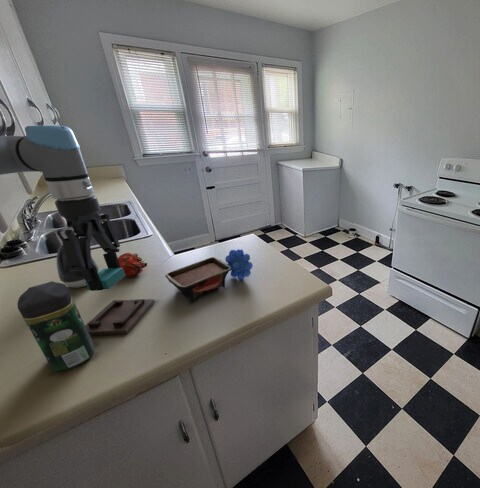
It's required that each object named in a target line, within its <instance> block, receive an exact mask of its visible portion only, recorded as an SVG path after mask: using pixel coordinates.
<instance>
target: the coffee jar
mask: <svg viewBox="0 0 480 488" xmlns="http://www.w3.org/2000/svg"><path fill="white" fill-rule="evenodd" d="M17 309H18V311H19V313H20V315H21V318H22V320H23V321H24V322H25V324H26V326H27V327H28V329H29V331H30V332H31V334H32V336H33V339H34V340H35V341H36V344H37V345H38V346H39V349H40V350H41V352H42V354H43V356H44V358H45V360H46V361H47V363H48V366H49V367H50V368H51V370H52V371H54V372H62V371H66V370H70V369H73V368H75V367H77V366H80V365H82V364H83V363H84V362H86V361H88V360H89V359H90V358H91V357H93V355H94V353H95V344H94V342H93V339H92V338H91V335H89V333H88V331H87V329H86V327H85V325H86V324H85V322H84V320H83V317H82V315H81V314H80V311H79V309H78V307H77V305H76V302H75V301H74V298H73V296H72V294H71V292H70V290H69V286H67V285H66V284H64V283H63V282H57V281H49V282H45V283H41V284H37V285H33V286H30V287H28V288H27V289H26V290H25V291H24V292H23V293H22V294H21V295H20V296H19V297H18V300H17Z"/></svg>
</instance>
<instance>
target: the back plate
mask: <svg viewBox="0 0 480 488" xmlns="http://www.w3.org/2000/svg"><path fill="white" fill-rule="evenodd" d="M154 303H155V299H154V298H147V299H146V298H145V299H144V298H139V299H137V298H136V299H115V300H112V301H111V302H109V304H107V305H106V306H105V307H103V309H102V310H101V311H100V312H98V314H97V315H95V316H94V317H93V318H92V319H91V320H90V321H88V322H87V323H86V324H84V325H85V327H86V329H87V331H88V333H89V335H90V336H104V335H105V336H107V335H128V334H129V333H130V331H131V330H132V329H133V328H134V327H135V326H136V324H138V322H139V321H140V320H141V319H142V318H143V316H145V314H146V313H147V312H148V311H149V310H150V308H151V307H152V306H153V305H154Z"/></svg>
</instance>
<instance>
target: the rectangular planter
mask: <svg viewBox="0 0 480 488" xmlns="http://www.w3.org/2000/svg"><path fill="white" fill-rule="evenodd" d="M230 269H231V267H230V266H229V265H228V263H227V262H226V261H224V260H222V259H219V258H218V257H216V256H215V257H214V256H212V257H208V258H205V259H203V260H200V261H197V262H194V263H190V264H188V265H186V266H183V267H180V268H178V269H174V270H172V271H169V272H167V273H166V274H165V275H164V277H165V278H166V279H167V280H168V282H169V284H172V285H173V286H174V287H175V288H176V289H177V290H179V292H180V293H181V294H182V295H183V296H184V297H185V298H186V299H187V300H188V301H189V302H190V303H191V304H193V303H194V301H195V300H196V299H197V298H198V297H199V296H200V295H201V294H202V293H203V292H209V291H212V290H214V289H218V288H223V289H225V288H226V278H227V275H228V274H229V272H231V271H230Z"/></svg>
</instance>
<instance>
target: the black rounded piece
mask: <svg viewBox="0 0 480 488" xmlns="http://www.w3.org/2000/svg"><path fill="white" fill-rule="evenodd" d="M91 262H92V266H95V267H96V269H97V272H100V268H99V266H98V264H97V263H96V261H95V259H94V258H93V257H92V256H91ZM84 264H85V263H84ZM56 271H57V275H58V278H59V280H60V282H61V283H62V284H65V285H66V286H67V287H68V288H69V287H70V288H82V287H87V285H86V283H85V279H84V277H83V275H82V272H81V270H71V269H70V266H69V263H68V260H67V256H66V253H65V250H64V247H63V244H61V245H60V246H59V248H58V250H57V253H56Z"/></svg>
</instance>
